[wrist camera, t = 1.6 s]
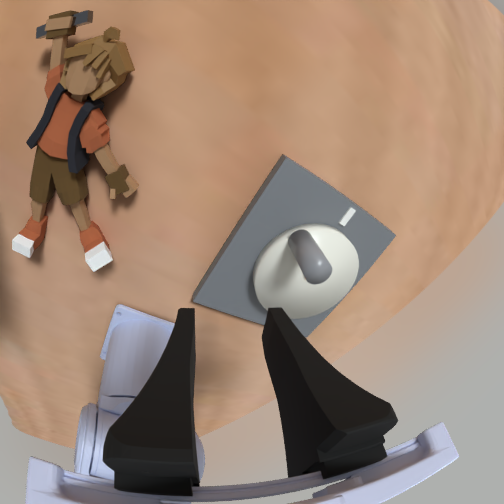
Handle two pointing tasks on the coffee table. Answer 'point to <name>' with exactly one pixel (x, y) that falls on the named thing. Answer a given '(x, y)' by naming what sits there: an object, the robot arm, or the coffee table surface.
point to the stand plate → (274, 223)
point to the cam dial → (305, 270)
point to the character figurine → (75, 131)
